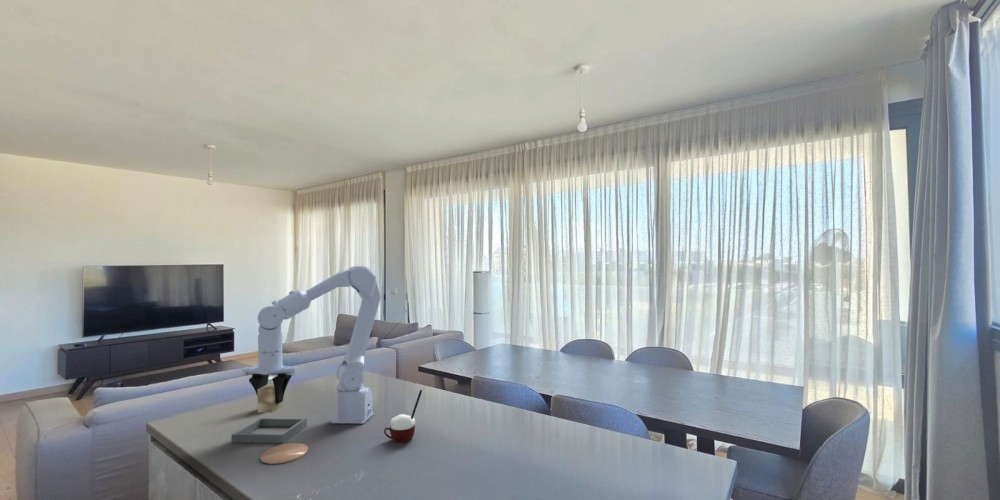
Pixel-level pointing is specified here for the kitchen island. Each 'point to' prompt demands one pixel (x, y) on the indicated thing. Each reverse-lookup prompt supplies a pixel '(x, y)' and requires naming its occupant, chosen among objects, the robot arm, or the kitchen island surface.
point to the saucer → (284, 453)
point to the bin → (246, 435)
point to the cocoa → (403, 426)
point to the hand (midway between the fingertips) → (270, 402)
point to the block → (267, 399)
